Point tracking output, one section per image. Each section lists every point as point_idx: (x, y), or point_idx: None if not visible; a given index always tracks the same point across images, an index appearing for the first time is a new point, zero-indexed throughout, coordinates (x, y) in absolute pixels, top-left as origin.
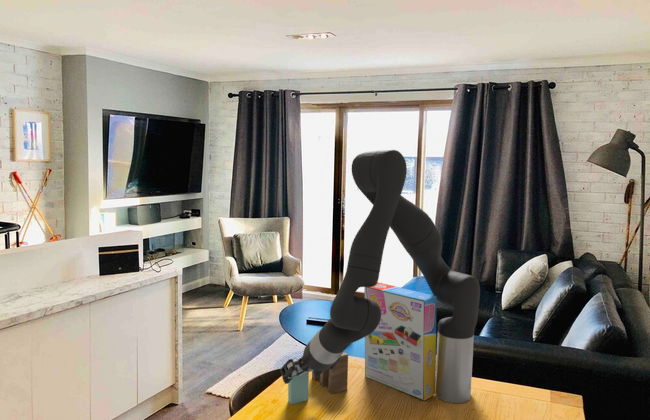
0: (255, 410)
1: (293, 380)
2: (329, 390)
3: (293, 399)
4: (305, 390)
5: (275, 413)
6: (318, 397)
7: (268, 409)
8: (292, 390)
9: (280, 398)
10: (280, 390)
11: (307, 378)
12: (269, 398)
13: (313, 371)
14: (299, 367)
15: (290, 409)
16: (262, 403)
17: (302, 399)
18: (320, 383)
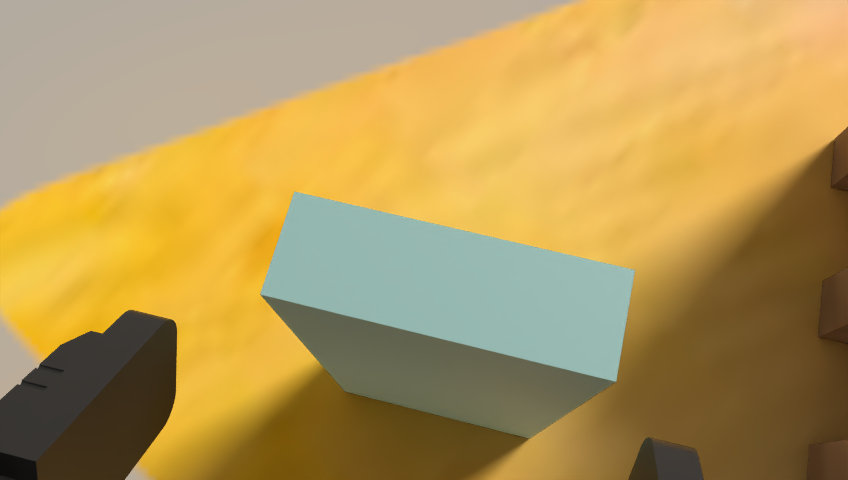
0: (51, 263)
1: (335, 355)
2: (817, 465)
3: (366, 391)
4: (504, 420)
5: None
6: None
7: None
8: (340, 373)
9: None
10: (452, 131)
11: (546, 410)
12: (283, 179)
13: (639, 461)
14: (418, 343)
15: (273, 463)
16: (179, 208)
17: (466, 419)
18: (830, 287)
